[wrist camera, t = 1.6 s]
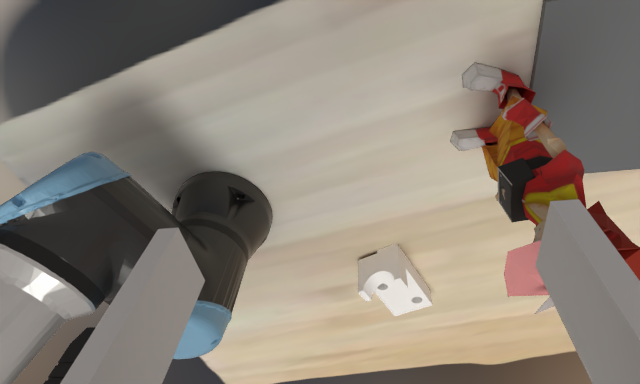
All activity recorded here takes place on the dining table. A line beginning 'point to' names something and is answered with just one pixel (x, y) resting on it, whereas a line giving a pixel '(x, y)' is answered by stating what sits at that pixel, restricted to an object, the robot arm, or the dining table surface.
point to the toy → (530, 174)
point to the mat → (591, 79)
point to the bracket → (392, 281)
